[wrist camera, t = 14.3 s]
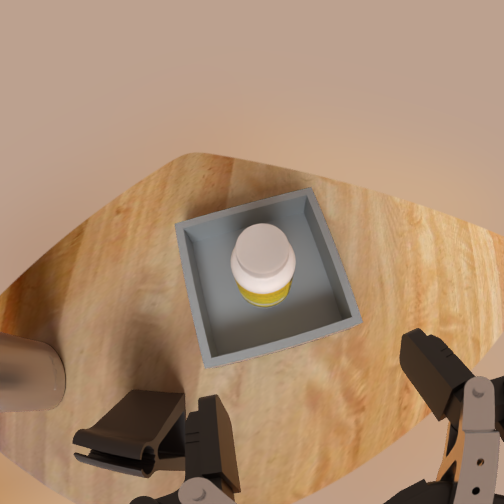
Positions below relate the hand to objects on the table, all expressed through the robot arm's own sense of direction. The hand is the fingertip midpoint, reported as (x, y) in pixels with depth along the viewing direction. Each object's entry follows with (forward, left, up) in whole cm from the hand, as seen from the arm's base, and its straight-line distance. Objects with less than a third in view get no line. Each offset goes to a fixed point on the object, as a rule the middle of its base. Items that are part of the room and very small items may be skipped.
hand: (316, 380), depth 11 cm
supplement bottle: (0, +9, -18) cm, 20 cm away
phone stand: (-15, -4, -19) cm, 24 cm away
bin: (0, +10, -19) cm, 21 cm away
